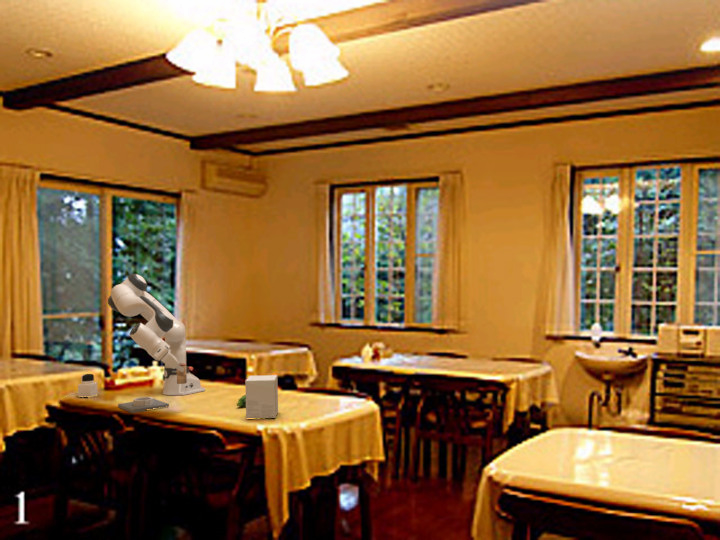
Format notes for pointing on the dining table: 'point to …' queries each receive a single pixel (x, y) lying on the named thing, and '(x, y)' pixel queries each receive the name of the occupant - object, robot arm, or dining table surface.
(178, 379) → the oak peg
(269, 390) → the supplement box
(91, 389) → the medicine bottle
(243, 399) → the vegetable
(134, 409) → the ring collar board
